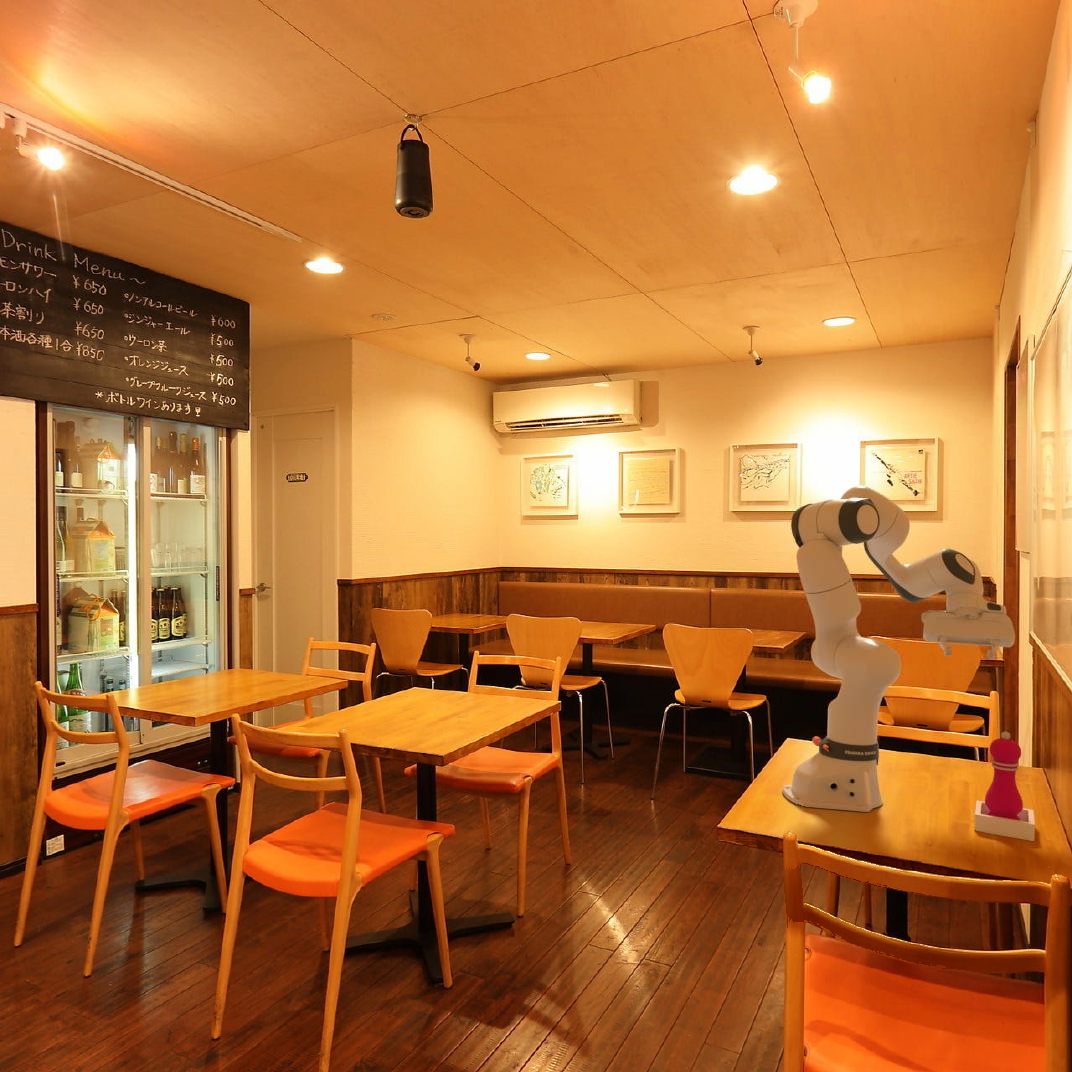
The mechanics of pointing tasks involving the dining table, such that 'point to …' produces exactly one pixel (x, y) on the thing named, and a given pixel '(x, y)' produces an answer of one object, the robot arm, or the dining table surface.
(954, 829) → the dining table surface
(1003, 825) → the mill holder
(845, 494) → the robot arm
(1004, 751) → the pepper mill
